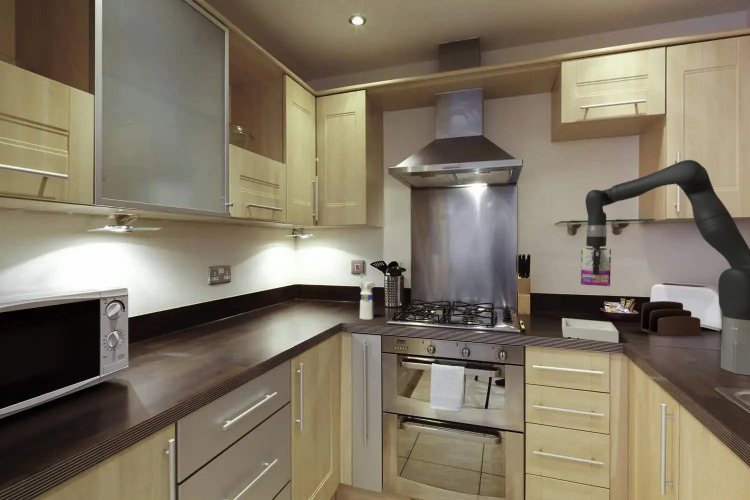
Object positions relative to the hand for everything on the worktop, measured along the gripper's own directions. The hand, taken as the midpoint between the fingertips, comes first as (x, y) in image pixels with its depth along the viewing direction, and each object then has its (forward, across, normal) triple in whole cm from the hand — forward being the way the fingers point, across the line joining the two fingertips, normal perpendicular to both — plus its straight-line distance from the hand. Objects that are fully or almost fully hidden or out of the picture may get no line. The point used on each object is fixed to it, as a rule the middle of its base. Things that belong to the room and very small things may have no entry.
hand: (595, 273), depth 160 cm
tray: (+27, -1, +2) cm, 27 cm away
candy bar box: (+5, 0, 0) cm, 5 cm away
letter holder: (+28, +20, -32) cm, 47 cm away
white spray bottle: (+28, -17, +106) cm, 111 cm away
